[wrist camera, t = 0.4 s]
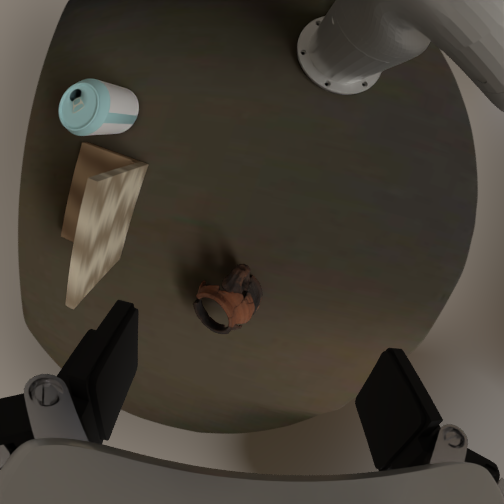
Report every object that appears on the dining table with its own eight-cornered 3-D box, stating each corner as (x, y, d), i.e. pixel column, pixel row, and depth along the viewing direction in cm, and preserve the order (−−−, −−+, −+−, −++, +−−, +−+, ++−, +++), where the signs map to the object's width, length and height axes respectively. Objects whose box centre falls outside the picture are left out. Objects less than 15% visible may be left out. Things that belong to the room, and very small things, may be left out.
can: (90, 121, 39) (45, 121, 27) (113, 81, 36) (71, 68, 25) (125, 141, 40) (85, 146, 29) (149, 100, 38) (114, 90, 27)
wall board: (87, 141, 40) (21, 151, 25) (148, 164, 41) (97, 181, 26) (65, 233, 45) (8, 272, 30) (120, 258, 47) (73, 309, 32)
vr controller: (259, 318, 51) (233, 349, 45) (214, 290, 54) (184, 316, 48) (279, 264, 44) (250, 294, 38) (225, 235, 47) (191, 258, 41)
